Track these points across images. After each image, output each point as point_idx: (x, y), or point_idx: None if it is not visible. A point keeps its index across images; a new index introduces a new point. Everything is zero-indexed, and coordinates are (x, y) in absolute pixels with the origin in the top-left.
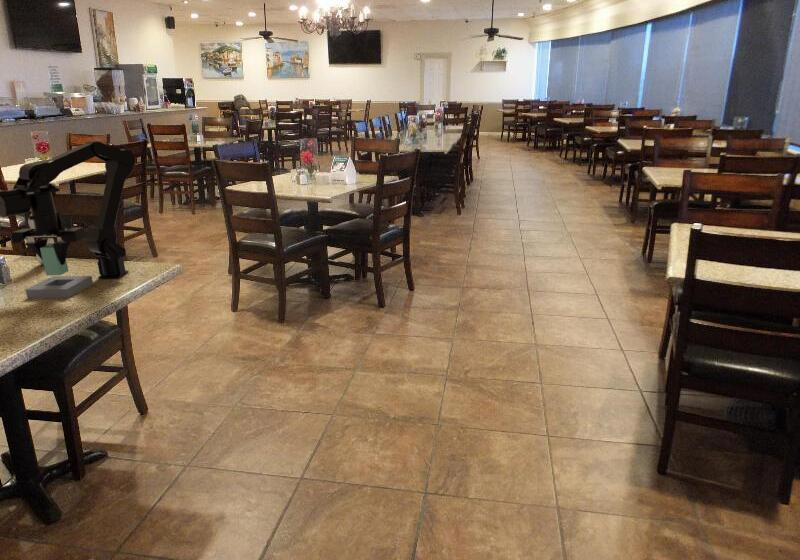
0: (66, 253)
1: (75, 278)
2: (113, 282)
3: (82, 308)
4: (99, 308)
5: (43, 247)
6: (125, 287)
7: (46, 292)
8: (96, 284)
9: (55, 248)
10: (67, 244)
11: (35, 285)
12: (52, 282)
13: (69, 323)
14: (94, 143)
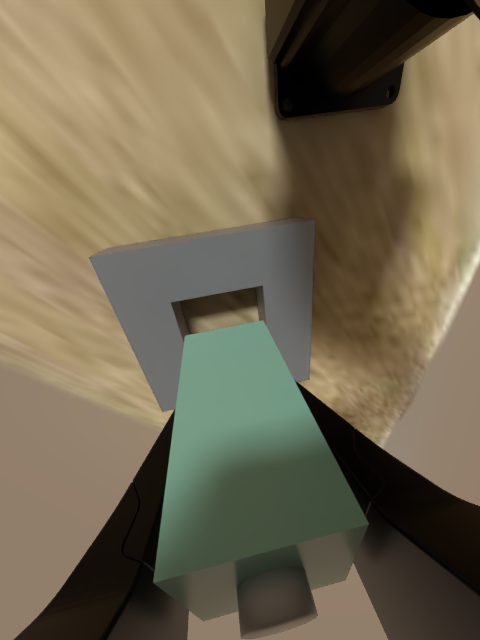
0: (346, 422)
1: (257, 272)
2: (380, 181)
3: (372, 400)
4: (410, 392)
5: (226, 610)
6: (444, 243)
7: None
8: (315, 221)
9: (366, 571)
10: (452, 518)
11: (154, 377)
12: (179, 326)
13: (379, 445)
14: None
